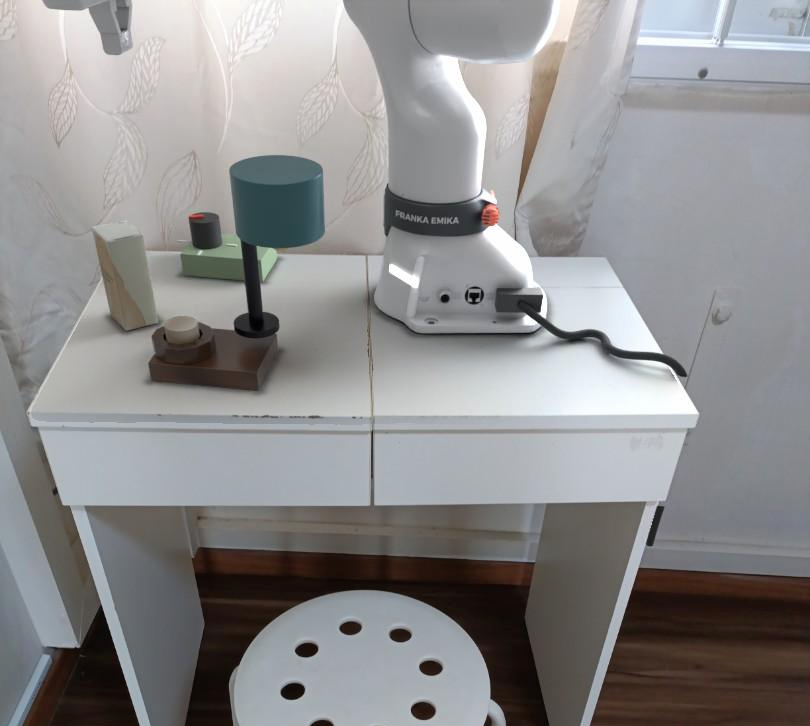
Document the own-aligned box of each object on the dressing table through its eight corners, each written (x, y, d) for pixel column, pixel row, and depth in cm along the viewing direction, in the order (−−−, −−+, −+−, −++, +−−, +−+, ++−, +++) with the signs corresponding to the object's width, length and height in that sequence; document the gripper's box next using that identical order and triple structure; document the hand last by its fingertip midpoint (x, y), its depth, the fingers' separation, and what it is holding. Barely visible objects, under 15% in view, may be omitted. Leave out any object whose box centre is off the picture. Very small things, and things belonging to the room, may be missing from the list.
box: (110, 315, 98) (89, 225, 91) (143, 307, 100) (125, 218, 93) (126, 332, 95) (106, 240, 88) (160, 323, 97) (143, 232, 90)
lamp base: (278, 350, 93) (275, 319, 90) (258, 390, 86) (255, 357, 84) (176, 341, 94) (171, 310, 91) (149, 380, 87) (142, 347, 84)
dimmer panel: (277, 258, 113) (275, 236, 111) (262, 282, 107) (260, 259, 105) (191, 251, 114) (187, 229, 112) (171, 275, 108) (167, 251, 106)
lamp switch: (204, 331, 88) (202, 317, 87) (194, 347, 86) (191, 332, 85) (172, 329, 89) (170, 314, 87) (161, 344, 86) (158, 329, 85)
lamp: (335, 315, 91) (330, 158, 80) (319, 353, 85) (312, 187, 73) (246, 308, 92) (229, 151, 81) (223, 345, 85) (201, 179, 74)
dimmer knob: (219, 236, 110) (216, 208, 108) (224, 247, 107) (221, 219, 105) (190, 239, 109) (186, 211, 107) (194, 250, 106) (190, 221, 104)
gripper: (67, -132, 59) (107, 78, 68) (163, -138, 75) (185, 34, 84) (-14, -136, 60) (37, 73, 69) (98, -141, 75) (127, 31, 84)
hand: (119, 52), depth 76 cm, fingers closed
